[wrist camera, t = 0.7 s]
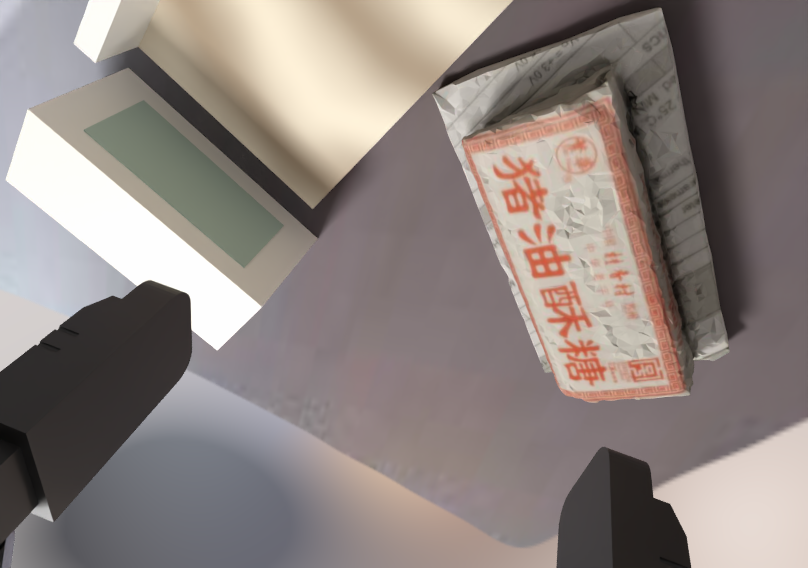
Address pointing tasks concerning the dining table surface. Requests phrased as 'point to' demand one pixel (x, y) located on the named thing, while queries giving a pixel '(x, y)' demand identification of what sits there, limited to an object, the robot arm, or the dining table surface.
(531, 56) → the packaged product
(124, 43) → the rail
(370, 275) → the dining table surface
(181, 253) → the carton
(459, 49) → the shelf board
